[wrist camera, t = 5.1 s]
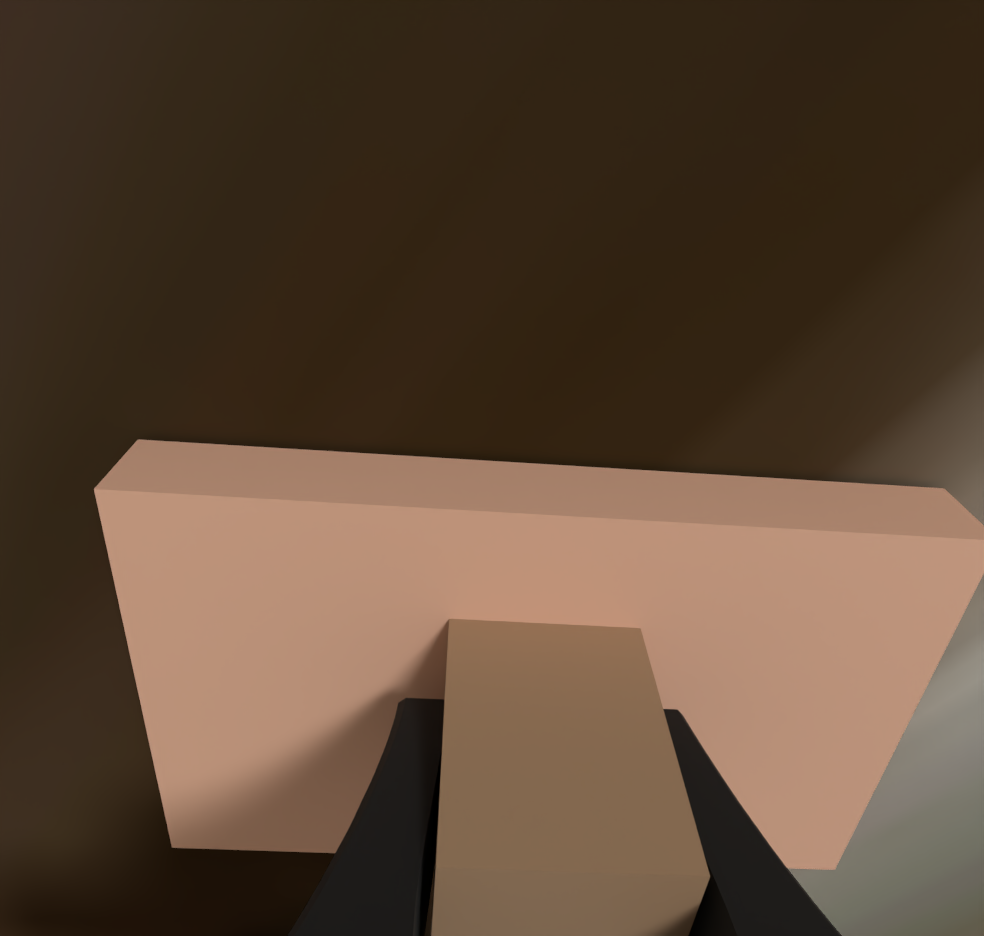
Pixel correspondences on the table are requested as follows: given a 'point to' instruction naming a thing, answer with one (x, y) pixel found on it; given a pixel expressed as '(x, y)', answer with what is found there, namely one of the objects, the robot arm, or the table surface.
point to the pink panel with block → (526, 659)
